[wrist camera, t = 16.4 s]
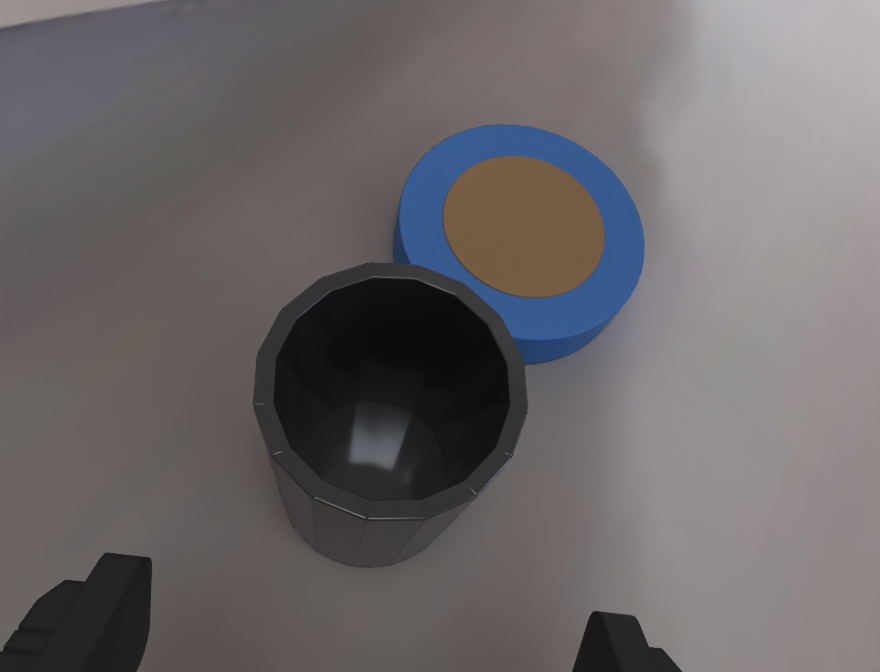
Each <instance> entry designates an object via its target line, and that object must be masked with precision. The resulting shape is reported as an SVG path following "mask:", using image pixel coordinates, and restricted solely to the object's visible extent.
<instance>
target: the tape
mask: <svg viewBox="0 0 880 672" xmlns="http://www.w3.org/2000/svg"><path fill="white" fill-rule="evenodd" d="M393 252H394V264H415V265H418V266H419V265H420V266H423V267H425V268H428V269H430V270H433V271H435V272H438V273H440V274H442V275H445V276H447V277H450V278H452V279H455V280H457V281H460V282H462V283H463V284H466V285H467V286H468V287H469V288H470V289H471V290H472V291H474V292H475V293H476V294H477V295H478V296H479V297H480V298H481V299H483V300H484V301H485V302H486V303H487V304H488V305H489V306H490V307H491V308H493V309H494V310H495V311H496V312H497V313H498V314H499V315H500V317H502V319H503V321H504V323H505V325H506V327H507V329H508V331H509V332H510V334H511V336H512V338H513V340H514V342H515V344H516V346H517V348H518V350H519V352H520V354H521V356H522V358H523V361H524V364H528V363H539V362H545V361H551V360H554V359H557V358H560V357H563V356H566V355H568V354H570V353H572V352H574V351H576V350H578V349H580V348H581V347H583V346H584V345H586V344H587V343H589V342H590V341H591V340H592V339H593V338H594V337H596V336H597V335H598V334H599V333H600V332H601V331H602V329H603V328H604V327H605V326H606V325H607V324H608V323H609V321H610V320H611V319H612V318H613V317H614V316H615V314H616V313H617V312H618V311H619V310H620V309H621V308H622V306H623V305H624V304H625V302H626V301H627V300H628V299H629V297H630V296H631V294H632V292H633V290H634V289H635V287H636V285H637V282H638V280H639V277H640V274H641V271H642V266H643V261H644V236H643V229H642V225H641V221H640V217H639V214H638V212H637V209H636V207H635V204H634V202H633V200H632V199H631V197H630V195H629V193H628V191H627V190H626V188H625V187H624V186H623V184H622V183H621V181H620V180H619V179H618V178H617V177H616V175H615V174H614V173H613V172H612V171H611V170H610V169H609V168H608V167H607V166H606V165H605V164H604V163H603V162H602V161H601V160H599V159H598V158H597V157H596V156H594V155H593V154H592V153H590V152H589V151H587V150H586V149H584V148H583V147H581V146H579V145H578V144H576V143H574V142H573V141H570V140H568V139H566V138H564V137H562V136H559V135H557V134H554V133H551V132H548V131H545V130H541V129H537V128H533V127H527V126H519V125H490V126H482V127H477V128H473V129H469V130H466V131H463V132H460V133H457V134H455V135H453V136H451V137H449V138H447V139H445V140H443V141H442V142H440V143H439V144H437V145H436V146H434V147H433V148H432V149H431V150H430V151H429V152H428V153H426V154H425V155H424V156H423V157H422V158H421V160H420V161H419V162H418V163H417V164H416V166H415V167H414V168H413V170H412V172H411V173H410V175H409V177H408V178H407V181H406V183H405V186H404V188H403V191H402V195H401V199H400V204H399V209H398V216H397V222H396V228H395V234H394V246H393Z"/></svg>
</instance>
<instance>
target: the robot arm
mask: <svg viewBox="0 0 880 672" xmlns="http://www.w3.org/2000/svg"><path fill="white" fill-rule="evenodd" d="M151 579H152V562H151V559H150V558H149V557H141V556H132V555H124V554H115V553H105V554H104V555H103V556H102V557H101V558H100V559H99V561H98V562H97V564H96V566H95V567H94V569H93V570H92V572H91V573H90V575H89V576H88V578H87V579H86V581H85V582H82V581H73V580H64V581H63V582H61V583H60V584H59V585H57V586H56V587H54V588H53V589H52V590H50V591H49V592H47V593H46V594H45V595H43V596H42V597H41V598H39V599H38V600H37V601H36V602H35V604H34V605H33V606H32V608H31V609H30V611H29V612H28V613H27V615H26V616H25V618H24V619H23V620H22V622H21V623H20V625H19V628H18V630H15V632H14V633H13V634H12V636H11V637H10V639H9V640H8V641H7V643H6V644H5V646H4V649H3V651H2V652H0V672H136V671H137V669H138V667H139V665H140V662H141V660H142V657H143V654H144V651H145V648H146V644H147V640H148V635H149V628H150V607H151ZM572 672H682V671H681V670H680V669H679V667H678V666H677V665H676V664H675V663H674V662H673V661H672V659H671V658H670V657H669V656H668V655H667V654H666V653H665V651H664V650H663V649H662V648H653V647H649V646H648V644H647V641H646V639H645V636H644V634H643V631H642V629H641V626H640V624H639V622H638V620H637V619H636V617H635V616H632V615H625V614H616V613H608V612H599V611H594V612H592V614H591V615H590V617H589V620H588V623H587V626H586V629H585V632H584V636H583V639H582V642H581V645H580V648H579V652H578V655H577V658H576V661H575V664H574V668H573V671H572Z"/></svg>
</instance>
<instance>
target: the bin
mask: <svg viewBox="0 0 880 672" xmlns="http://www.w3.org/2000/svg"><path fill="white" fill-rule="evenodd" d="M253 406H254V411H255V415H256V418H257V421H258V424H259V427H260V431H261V434H262V437H263V440H264V444H265V447H266V450H267V453H268V456H269V460H270V463H271V466H272V469H273V472H274V476H275V479H276V482H277V485H278V488H279V492H280V494H281V497H282V500H283V503H284V505H285V508H286V511H287V514H288V516H289V519H290V522H291V524H292V525H293V527H294V528H295V529H296V530H297V532H298V533H299V534H300V536H301V537H302V538H303V539H304V540H305V541H306V542H307V543H308V544H309V545H310V546H311V547H312V548H313V549H315V550H316V551H317V552H319V553H320V554H322V555H323V556H325V557H327V558H329V559H331V560H333V561H336V562H339V563H342V564H345V565H349V566H354V567H364V568H373V567H383V566H389V565H393V564H395V563H398V562H400V561H403V560H406V559H407V558H409V557H411V556H413V555H415V554H417V553H419V552H421V551H422V550H424V549H425V548H426V547H427V546H428V545H429V544H430V543H431V542H432V541H433V540H434V539H435V538H436V537H437V536H438V535H439V534H440V533H441V532H442V531H443V530H444V529H445V528H446V527H447V526H448V525H449V524H450V523H451V522H452V521H453V520H454V519H455V518H456V517H457V516H458V515H459V514H460V513H461V512H462V511H463V510H464V509H465V508H466V507H467V506H468V505H469V504H470V503H471V502H472V501H473V500H474V499H475V498H476V497H477V496H478V495H479V494H480V493H481V492H482V491H483V490H484V489H485V488H486V487H487V485H488V484H489V483H490V482H491V481H492V480H493V479H494V478H495V477H496V476H497V474H498V473H499V472H500V471H501V470H502V469H503V468H504V467H505V466H506V465H507V463H508V462H509V461H510V460H511V458H512V457H513V455H514V451H515V448H516V445H517V442H518V439H519V436H520V433H521V430H522V427H523V424H524V421H525V418H526V415H527V412H528V411H527V409H528V401H527V390H526V379H525V367H524V361H523V358H522V356H521V354H520V352H519V350H518V348H517V346H516V344H515V342H514V340H513V338H512V336H511V334H510V332H509V331H508V329H507V327H506V325H505V323H504V321H503V319H502V317H500V315H499V314H498V313H497V312H496V311H495V310H494V309H493V308H491V307H490V306H489V305H488V304H487V303H486V302H485V301H484V300H483V299H481V298H480V297H479V296H478V295H477V294H476V293H475V292H474V291H472V290H471V289H470V288H469V287H468V286H467V285H466V284H463V283H462V282H460V281H457V280H455V279H452V278H450V277H447V276H445V275H442V274H440V273H438V272H435V271H433V270H430V269H428V268H425V267H423V266H420V265H419V266H418V265H415V264H391V263H369V264H368V263H366V264H362V265H359V266H356V267H353V268H350V269H347V270H343V271H340V272H337V273H334V274H331V275H328V276H325V277H322V278H321V279H318V280H317V281H316V282H315V283H313V284H312V285H311V286H310V287H309V288H307V289H306V290H305V291H304V292H302V293H301V294H300V295H299V296H297V297H296V298H295V299H294V300H292V301H291V302H290V303H289V304H287V305H286V306H285V307H284V308H283V309H282V310H281V311H280V312H279V314H278V316H277V318H276V320H275V322H274V324H273V325H272V327H271V329H270V331H269V333H268V335H267V336H266V338H265V340H264V342H263V344H262V346H261V348H260V349H259V351H258V355H257V359H256V372H255V385H254V398H253Z"/></svg>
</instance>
